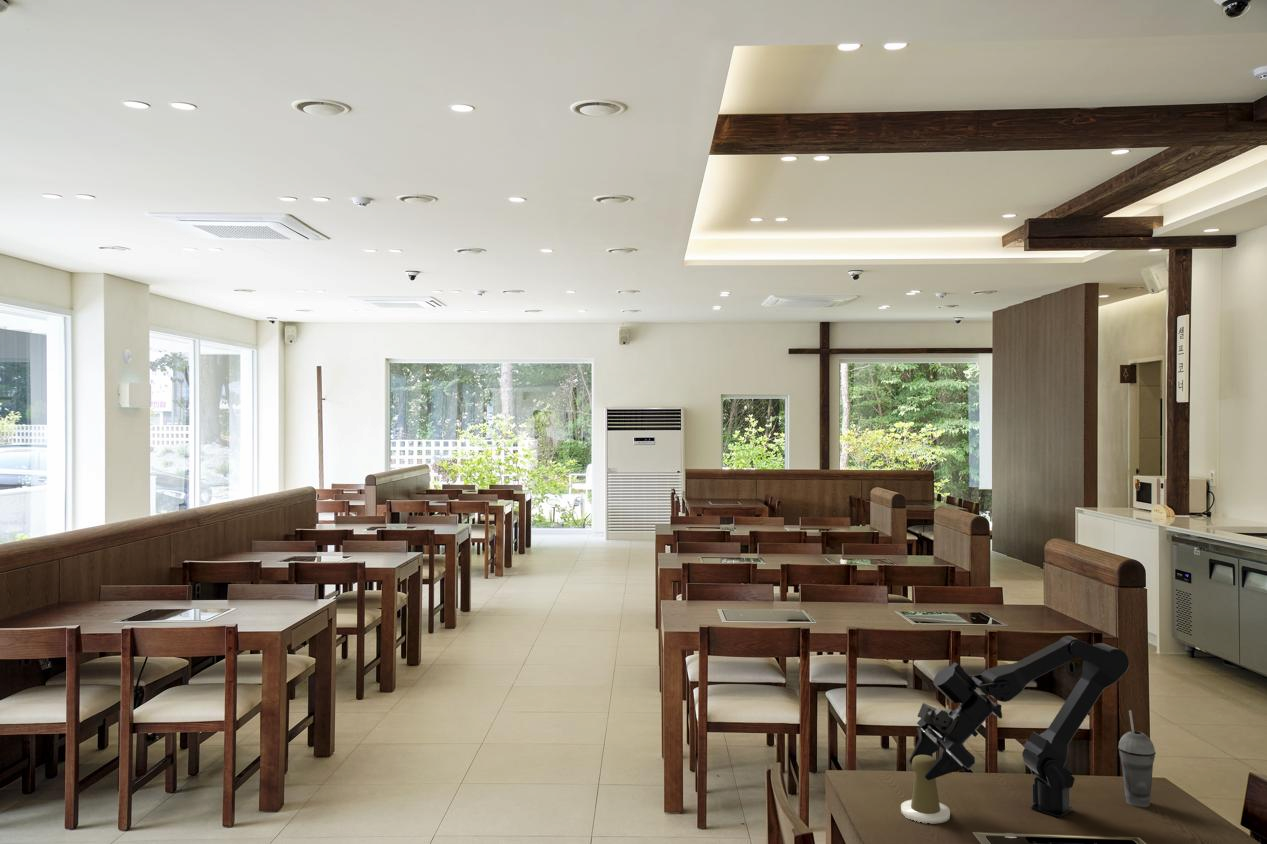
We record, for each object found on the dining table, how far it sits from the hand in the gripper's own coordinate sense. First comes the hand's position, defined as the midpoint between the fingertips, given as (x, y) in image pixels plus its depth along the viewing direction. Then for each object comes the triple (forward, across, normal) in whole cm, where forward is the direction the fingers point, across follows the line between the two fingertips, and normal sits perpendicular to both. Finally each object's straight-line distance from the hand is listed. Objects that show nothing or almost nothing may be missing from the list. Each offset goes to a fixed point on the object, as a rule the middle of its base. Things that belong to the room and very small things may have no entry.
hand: (918, 770), depth 195 cm
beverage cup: (-28, -2, +42) cm, 51 cm away
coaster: (+6, 0, +8) cm, 9 cm away
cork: (+5, 0, +7) cm, 8 cm away
